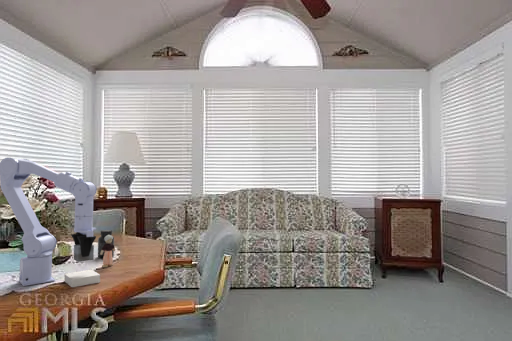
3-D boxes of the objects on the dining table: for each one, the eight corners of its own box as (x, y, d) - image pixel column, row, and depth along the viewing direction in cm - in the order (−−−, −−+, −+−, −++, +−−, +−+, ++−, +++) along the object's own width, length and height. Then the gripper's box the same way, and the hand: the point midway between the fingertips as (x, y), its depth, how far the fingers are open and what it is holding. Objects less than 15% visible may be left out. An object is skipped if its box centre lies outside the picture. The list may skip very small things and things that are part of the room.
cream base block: (71, 288, 117) (72, 279, 117) (64, 282, 124) (64, 273, 124) (100, 283, 123) (100, 274, 123) (91, 277, 130) (91, 269, 130)
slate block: (78, 261, 120) (78, 247, 120) (73, 259, 124) (74, 244, 124) (93, 259, 124) (93, 245, 124) (88, 257, 127) (89, 243, 127)
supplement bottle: (116, 256, 163) (117, 230, 163) (103, 259, 157) (104, 232, 157) (107, 254, 167) (108, 229, 167) (94, 257, 161) (95, 230, 161)
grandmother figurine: (106, 268, 142) (107, 236, 142) (98, 267, 143) (98, 236, 143) (117, 263, 149) (118, 233, 150) (109, 263, 150) (110, 233, 150)
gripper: (103, 217, 121) (102, 257, 121) (89, 213, 132) (88, 250, 132) (81, 218, 116) (79, 260, 116) (68, 214, 127) (67, 252, 127)
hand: (82, 255), depth 124 cm, fingers closed on slate block, 5 cm apart
